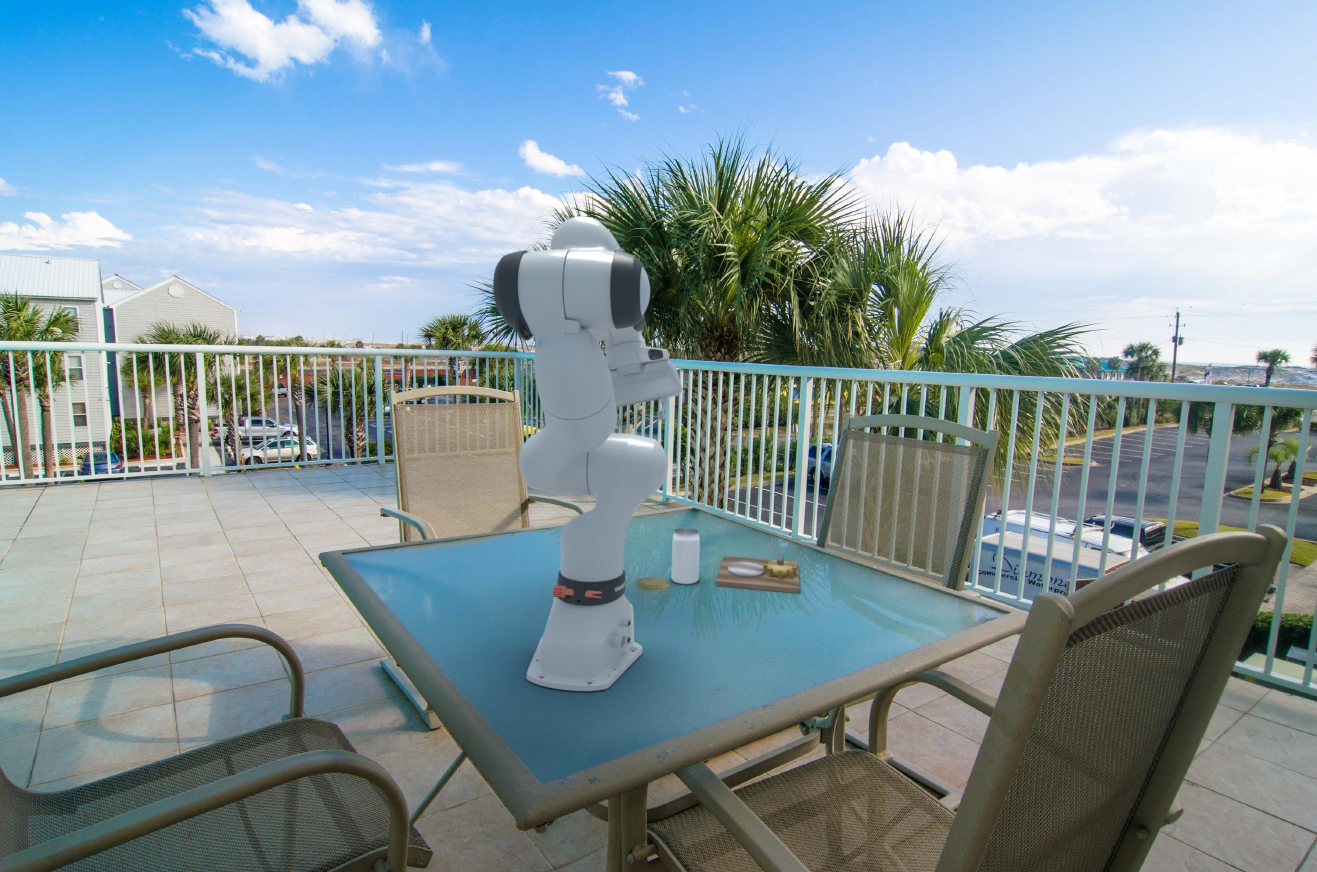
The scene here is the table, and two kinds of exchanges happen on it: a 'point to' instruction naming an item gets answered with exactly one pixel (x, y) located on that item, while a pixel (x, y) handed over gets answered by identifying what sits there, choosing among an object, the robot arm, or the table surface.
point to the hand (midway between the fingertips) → (640, 423)
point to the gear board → (759, 574)
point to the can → (685, 556)
